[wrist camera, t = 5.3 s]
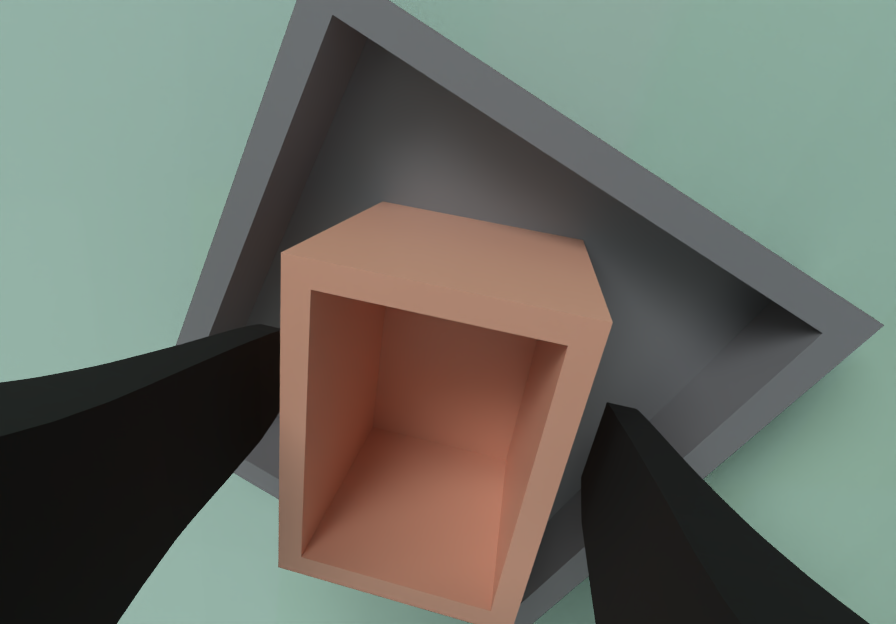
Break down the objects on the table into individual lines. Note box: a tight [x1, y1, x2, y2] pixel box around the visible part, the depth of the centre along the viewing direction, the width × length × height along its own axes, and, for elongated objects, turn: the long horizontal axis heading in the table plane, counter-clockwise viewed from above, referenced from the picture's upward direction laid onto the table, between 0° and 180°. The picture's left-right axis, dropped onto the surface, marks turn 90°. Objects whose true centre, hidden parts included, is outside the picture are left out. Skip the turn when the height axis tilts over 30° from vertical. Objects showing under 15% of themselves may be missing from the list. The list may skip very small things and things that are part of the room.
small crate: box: [278, 202, 613, 624], centre depth 10 cm, size 5×7×5 cm
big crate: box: [176, 0, 884, 624], centre depth 12 cm, size 12×12×3 cm
